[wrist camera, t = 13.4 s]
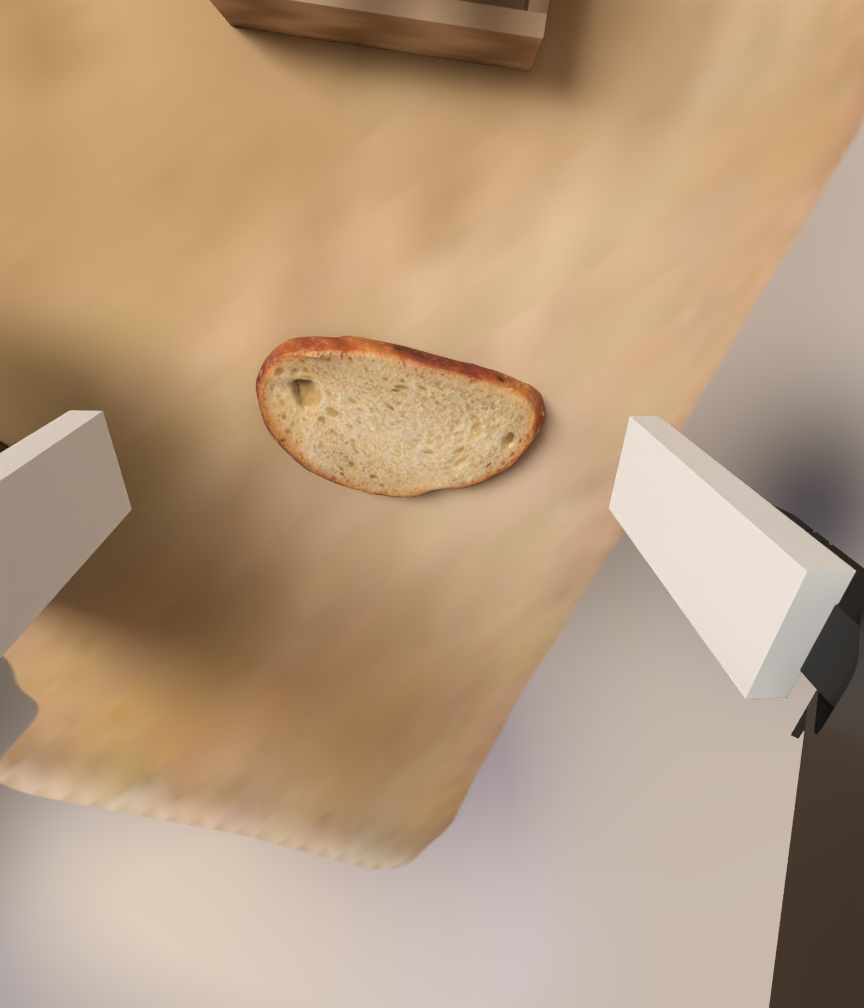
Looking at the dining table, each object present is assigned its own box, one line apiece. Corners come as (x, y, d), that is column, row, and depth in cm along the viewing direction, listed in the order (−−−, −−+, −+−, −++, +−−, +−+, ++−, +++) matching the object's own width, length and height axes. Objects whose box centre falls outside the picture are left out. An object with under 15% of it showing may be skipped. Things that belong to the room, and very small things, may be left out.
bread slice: (562, 423, 40) (573, 437, 37) (388, 551, 45) (383, 573, 41) (413, 220, 35) (409, 214, 31) (234, 389, 40) (214, 400, 36)
